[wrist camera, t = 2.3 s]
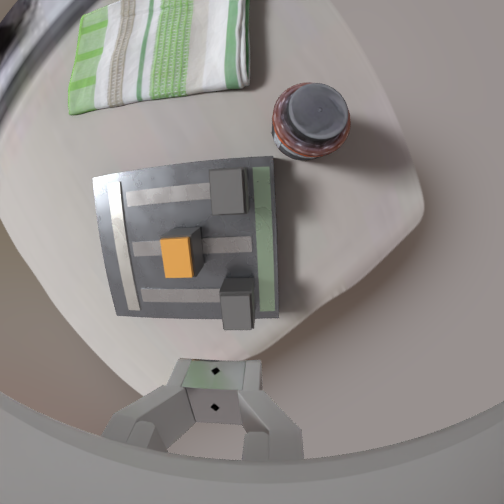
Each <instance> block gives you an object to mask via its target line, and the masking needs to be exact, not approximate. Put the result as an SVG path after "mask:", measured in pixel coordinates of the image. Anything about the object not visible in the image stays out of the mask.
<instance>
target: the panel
mask: <svg viewBox="0 0 504 504" xmlns="http://www.w3.org/2000/svg"><path fill="white" fill-rule="evenodd" d="M231 167H247V174H248V191H249V208H250V209H249V211H248V213H247V214H239V215H221V216H212V211H211V198H210V184H209V169H219V168H231ZM93 187H94V197H95V206H96V214H97V222H98V228H99V235H100V241H101V247H102V253H103V258H104V263H105V268H106V273H107V277H108V282H109V286H110V291H111V295H112V299H113V303H114V307H115V310H116V314H117V316H132V317H151V318H179V319H222V313H221V304H220V295H219V291H220V288H221V286H222V283H223V281H224V278H254V295H255V319H260V318H279V301H278V261H277V231H276V206H275V184H274V164H273V156H264V157H246V158H231V159H219V160H208V161H198V162H189V163H181V164H173V165H165V166H158V167H151V168H145V169H139V170H133V171H127V172H121V173H116V174H111V175H106V176H101V177H96V178H93ZM191 227H200V230H201V240H202V250H203V259H204V266H203V268H202V269H201V271H200V272H199V274H198V275H197V277H192V278H166V277H165V271H164V265H163V258H162V251H161V244H160V236H161V235H163V234H164V233H166V232H168V231H169V230H171V229H176V228H191Z"/></svg>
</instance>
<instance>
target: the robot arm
mask: <svg viewBox="0 0 504 504" xmlns="http://www.w3.org/2000/svg"><path fill="white" fill-rule="evenodd" d="M195 422H204V423H221V424H237V425H242V426H243V428H244V429H245V430H246V432H247V434H246V435H245V438H244V446H243V454H242V460H225V459H211V458H202V457H194V456H186V455H179V454H173V453H168V451H167V449H168V448H169V447H170V446H171V445H172V444H173V443H174V442H175V441H177V439H179V438H180V437H181V436H182V435H183V434H184V433H186V431H188V430H189V429H190V428H191V427H192V426H193V425H194V424H195ZM0 504H504V401H503V402H501V403H499V404H497V405H495V406H494V407H492V408H490V409H488V410H486V411H484V412H482V413H479V414H477V415H475V416H473V417H471V418H469V419H466V420H464V421H462V422H459V423H457V424H454V425H452V426H449V427H447V428H444V429H441V430H439V431H436V432H433V433H430V434H427V435H424V436H421V437H418V438H414V439H411V440H408V441H405V442H401V443H397V444H393V445H389V446H385V447H380V448H376V449H371V450H366V451H361V452H356V453H350V454H343V455H337V456H330V457H321V458H310V459H304V452H303V441H302V430H301V429H300V428H299V427H298V426H297V425H296V424H295V423H294V422H293V421H292V420H291V419H290V418H289V417H288V416H287V415H286V414H285V412H284V411H282V409H281V408H280V407H279V406H278V405H277V404H276V403H275V402H274V401H273V400H272V399H271V398H270V397H269V396H268V395H267V393H266V392H265V391H263V389H262V364H261V360H247V361H219V360H202V359H186V358H180V359H178V361H177V363H176V365H175V367H174V369H173V372H172V374H171V376H170V378H169V380H168V383H167V385H166V386H164V385H162V386H161V387H159V388H157V389H156V390H154V391H152V392H151V393H149V394H147V395H145V396H144V397H142V398H141V399H139V400H137V401H135V402H133V403H132V404H130V405H128V406H127V407H125V408H123V409H121V410H119V411H117V412H116V413H114V414H113V416H112V418H111V419H110V421H109V423H108V425H107V426H106V428H105V430H104V432H103V433H102V435H101V436H98V435H95V434H92V433H89V432H86V431H83V430H81V429H77V428H75V427H72V426H70V425H67V424H64V423H62V422H60V421H57V420H55V419H53V418H50V417H48V416H46V415H44V414H42V413H40V412H37V411H35V410H33V409H31V408H29V407H27V406H25V405H23V404H21V403H20V402H18V401H16V400H14V399H12V398H10V397H9V396H7V395H5V394H3V393H2V392H0Z"/></svg>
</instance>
